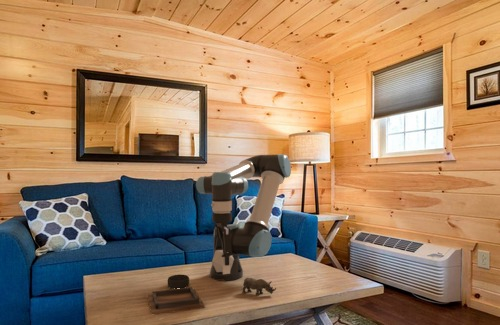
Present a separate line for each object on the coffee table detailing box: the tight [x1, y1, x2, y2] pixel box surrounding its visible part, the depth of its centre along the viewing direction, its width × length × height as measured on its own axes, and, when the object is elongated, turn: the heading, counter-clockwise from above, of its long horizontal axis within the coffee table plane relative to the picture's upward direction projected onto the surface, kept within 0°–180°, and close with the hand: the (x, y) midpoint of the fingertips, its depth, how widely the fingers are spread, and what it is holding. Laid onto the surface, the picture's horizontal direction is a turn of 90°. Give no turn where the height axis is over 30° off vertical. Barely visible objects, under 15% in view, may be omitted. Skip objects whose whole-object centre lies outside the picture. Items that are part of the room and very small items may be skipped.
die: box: [211, 250, 234, 272], centre depth 136 cm, size 8×9×10 cm
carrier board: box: [147, 286, 205, 315], centre depth 129 cm, size 18×18×2 cm
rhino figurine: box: [241, 277, 277, 296], centre depth 137 cm, size 4×14×6 cm, turn 68°
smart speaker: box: [167, 274, 190, 289], centre depth 147 cm, size 9×9×4 cm
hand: (222, 270), depth 136 cm, fingers closed on die, 9 cm apart
